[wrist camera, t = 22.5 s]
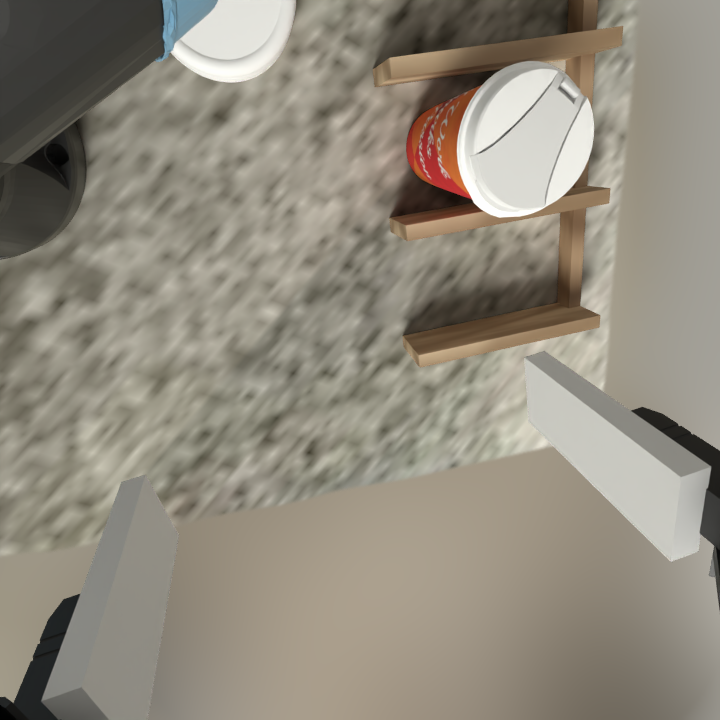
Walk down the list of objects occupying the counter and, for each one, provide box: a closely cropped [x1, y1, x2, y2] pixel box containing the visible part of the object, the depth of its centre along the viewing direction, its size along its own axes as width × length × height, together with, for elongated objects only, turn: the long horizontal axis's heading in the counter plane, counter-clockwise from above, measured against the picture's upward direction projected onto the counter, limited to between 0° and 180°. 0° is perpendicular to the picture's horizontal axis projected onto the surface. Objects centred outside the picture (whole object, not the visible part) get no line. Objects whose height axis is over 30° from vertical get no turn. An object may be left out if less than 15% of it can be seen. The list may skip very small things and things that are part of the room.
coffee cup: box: [406, 61, 594, 218], centre depth 33 cm, size 8×8×15 cm
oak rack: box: [373, 0, 623, 367], centre depth 38 cm, size 35×18×5 cm, turn 8°
